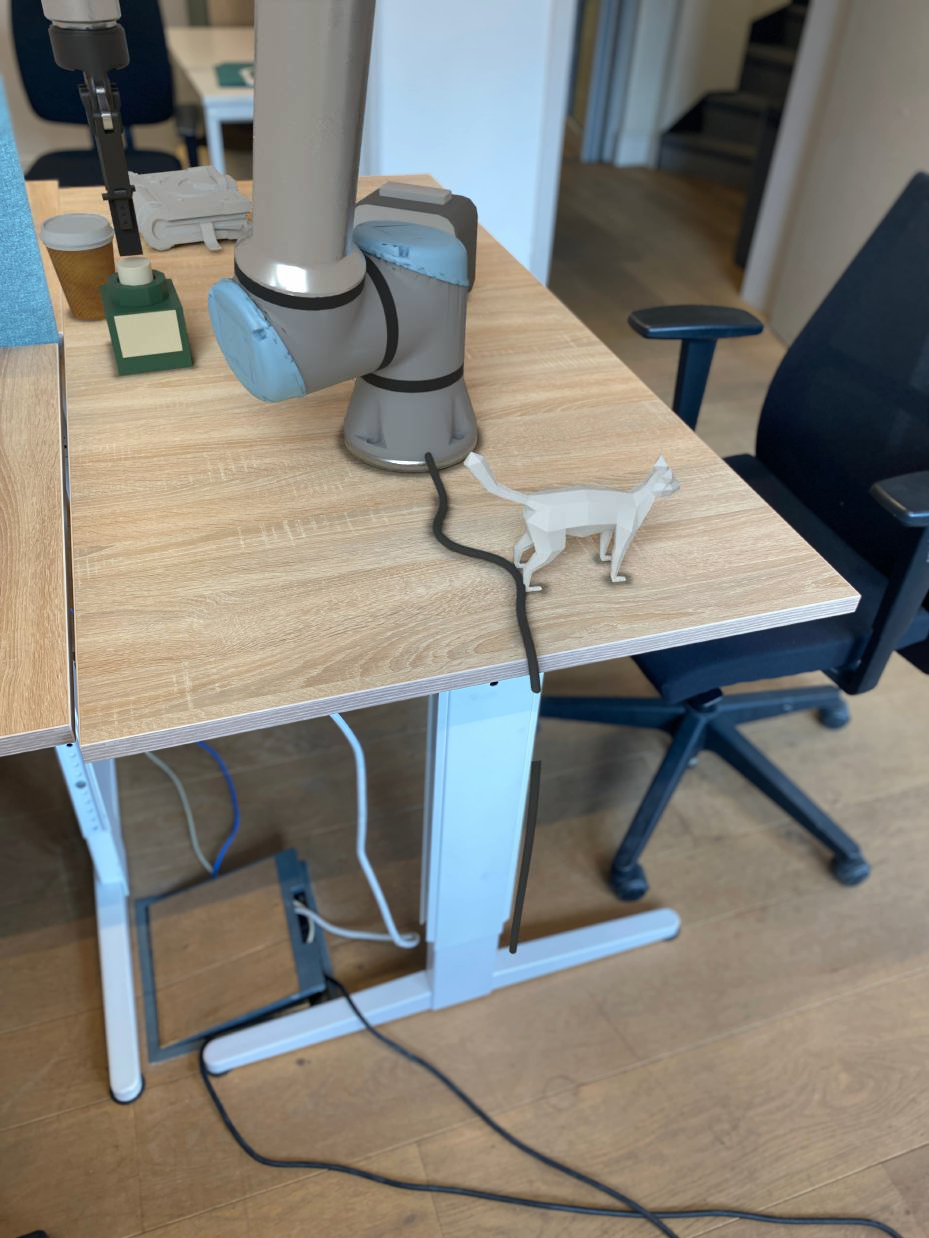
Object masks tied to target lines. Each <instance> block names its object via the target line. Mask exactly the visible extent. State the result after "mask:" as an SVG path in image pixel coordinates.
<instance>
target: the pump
mask: <svg viewBox="0 0 929 1238" xmlns="http://www.w3.org/2000/svg"><path fill="white" fill-rule="evenodd" d="M115 267H116V272H118V276H119V281H120V283H121V284H123V285H132V286H135V285H144V284H147V283H151V282H152V281H154V279H153V274H152V269H153V268H152V264H151V260H150V259H149V258H148V257H147V258H146V257H144V256H143V257H142V256H127V257H124V258H121V259H119V260H117V261H116V262H115Z"/></svg>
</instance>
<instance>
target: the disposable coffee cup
mask: <svg viewBox="0 0 929 1238" xmlns="http://www.w3.org/2000/svg"><path fill="white" fill-rule="evenodd" d="M39 227H40V232H39V234H38V237H39V240H40V241H41V242H42V244H43V245H44V246H45V248H46V251H47V253H48V256H49V258H50V262H51V264H52V267H53V269H54V271H55V274H56V276H57V279H58V282H59V284H60V287H61V289H62V292H63V294H64V297H65V299H66V303H67V305H68V307H69V310H70V312H71V315H72V316H73V317H74V318H75V319H78V320H83V321H100V320H105V319H106V316H105V311H104V307H103V302H102V298H101V294H100V289H99V285H108V284H107V278H108V277H109V276H110V275H112V274H113V273H116V262H115V253H114V252H115V251H114V242H113V241H114V238H115V237H114V236H115V232H114V227H113V226H111V223H110V221H109V219H108V218H107V217H105V216H104V215H101V214H96V213H86V212H76V213H75V212H74V213H73V212H72V213H64V214H59V215H55V216H52V217H51V216H50V217H48V218H46V219H45V220H42V222H40V225H39Z"/></svg>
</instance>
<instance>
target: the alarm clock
mask: <svg viewBox="0 0 929 1238" xmlns="http://www.w3.org/2000/svg"><path fill="white" fill-rule="evenodd" d="M452 191H453V190H451V189H447V188H441V187H432V186H425V185H419V184H411V183H405V182H397V181H390V180H388V181H387V182H385V183H384V184H382V185H380V186H379V187H378V188H377V189H375V190H373V191H372V192H371V193H369V194H368V195H366V196H365V197H362V199H360V200H358V201H356V206H355V216H354V225H353V229H354V228H355V227H356V226H357V225H358V224H360V223H363V222H368V221H379V220H388V221H402V222H410V223H416V224H421V225H426V226H430V227H434V228H437V229H440V230H442V231H445V232H447V233H449V234H451V235H453V236H455V237H456V238H457V239H459V240H460V241H461V242H462V244H463V245H464V247H465V249H466V252H467V279H468V280H469V286H468V294H470V293H471V292H472V290H473V287H474V284H475V281H476V270H477V269H476V268H477V250H478V249H477V247H478V246H477V245H478V226H479V225H478V224H479V213H478V207H477V205H476V204H475V203H474V202H473V201H472V199H471V198H470V197H467V196H465V195H461V194H456V193H455V194H454V193H452Z"/></svg>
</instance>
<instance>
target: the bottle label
mask: <svg viewBox="0 0 929 1238" xmlns="http://www.w3.org/2000/svg"><path fill="white" fill-rule="evenodd" d="M114 319H115V324H116V328H117V333H118V337H119V342H120V346H121V351H122V355H123V358H126V357H134V356H142V355H151V354H159V353H167V352H175V351H183V349H182V344H181V338H180V332H179V327H178V321H177V315H176V310H168V311H159V312H149V313H140V314H131V315H121V316H114Z"/></svg>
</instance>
